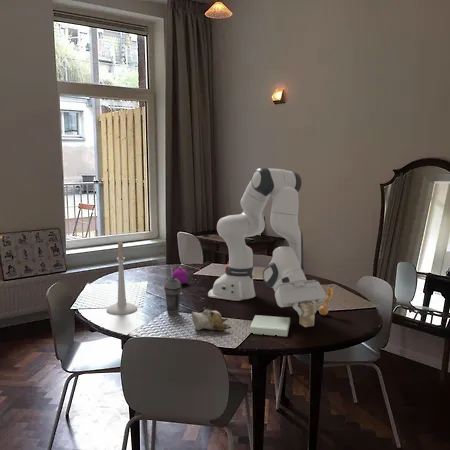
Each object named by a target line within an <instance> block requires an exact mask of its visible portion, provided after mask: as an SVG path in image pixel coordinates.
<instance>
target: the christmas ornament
mask: <svg viewBox="0 0 450 450" xmlns="http://www.w3.org/2000/svg"><path fill="white" fill-rule="evenodd" d="M177 267H178V268H176V269H175V270H174V271H173V278H177V279H178V280H179V281H180V283H181V285H184V284H185V283H186V282H187V281H188V278H189V273H188V271H187V270H186V269H184V268H183V267H182V266H181V264H179V266H177Z"/></svg>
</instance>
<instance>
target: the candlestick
mask: <svg viewBox="0 0 450 450" xmlns="http://www.w3.org/2000/svg"><path fill="white" fill-rule="evenodd" d="M123 244H124V243H123V242H121V241H119V242H117V253H118V254H117V255H118V256H117V257H116V259H117V263H118V278H117V281H118V282H117V303H113V304H111V305H109V306H108V307H107V308H106V312H107V314H109V315H115V316H123V315H124V316H125V315H131V314H133V313H136V312H137V311H138V306H136V305H135V304H133V303H130V302H127V298H126V284H125V274H124V273H125V271H124V270H125V269H124V262H125V259H126V257H124V249H123V248H124V245H123Z"/></svg>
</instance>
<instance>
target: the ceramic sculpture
mask: <svg viewBox="0 0 450 450" xmlns="http://www.w3.org/2000/svg"><path fill="white" fill-rule="evenodd" d="M191 318H192V319H191V320H192V322H193V325H194V328H195V329H196V330H197V331H201V330H202V329H207V330H212V331H215V330H217V331H226V330H228V329H232V326H231V325H230V326H229V325H228V324H226V323H225V322H226V321H227V320H229V318H227V317H226V318H223V317H222V314H221V313H220V312H219V311H218V310H212V308H211V307H208V308H206V309H204V310H203V311H202V312H196V311H191Z"/></svg>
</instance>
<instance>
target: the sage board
mask: <svg viewBox="0 0 450 450" xmlns="http://www.w3.org/2000/svg"><path fill="white" fill-rule="evenodd" d="M290 325H291V317H288V316H287V317H284V316H274V315H273V316H272V315H257V314H255V315H254V317H253V319H252V322H251V324H250V325H249V334H250V333H253V335H263V334H264V335H265V336H266V335H267V336H275V335H277V337H288V334H289V329H290ZM264 335H263V336H264Z"/></svg>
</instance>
